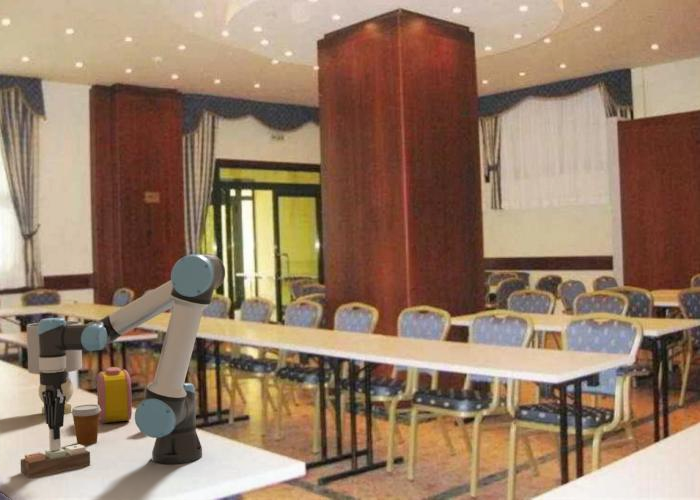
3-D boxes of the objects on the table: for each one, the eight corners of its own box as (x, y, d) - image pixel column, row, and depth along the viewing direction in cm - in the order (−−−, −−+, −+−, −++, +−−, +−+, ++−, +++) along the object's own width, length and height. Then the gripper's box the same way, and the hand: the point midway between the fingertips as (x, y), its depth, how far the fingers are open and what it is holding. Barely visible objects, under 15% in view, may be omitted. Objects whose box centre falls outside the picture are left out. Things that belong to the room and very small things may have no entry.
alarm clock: (132, 423, 290) (131, 371, 290) (101, 427, 286) (99, 373, 286) (127, 413, 308) (125, 364, 307) (97, 416, 304) (96, 366, 303)
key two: (66, 465, 234) (65, 450, 234) (51, 468, 231) (50, 453, 231) (60, 462, 238) (60, 447, 238) (45, 465, 235) (45, 450, 235)
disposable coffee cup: (92, 447, 259) (91, 410, 259) (66, 446, 261) (65, 409, 260) (107, 439, 268) (106, 404, 268) (81, 438, 270) (80, 403, 270)
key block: (90, 465, 238) (89, 451, 238) (29, 478, 226) (28, 464, 226) (81, 460, 243) (80, 447, 243) (20, 472, 231) (20, 459, 231)
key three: (45, 470, 230) (45, 454, 230) (30, 473, 227) (29, 457, 227) (40, 467, 234) (39, 451, 234) (25, 470, 231) (24, 454, 231)
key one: (85, 461, 238) (85, 446, 238) (71, 464, 235) (71, 449, 235) (80, 458, 242) (79, 443, 241) (65, 461, 239) (65, 446, 239)
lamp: (67, 419, 300) (64, 326, 300) (18, 418, 303) (16, 326, 303) (92, 407, 320) (90, 320, 319) (46, 407, 323) (44, 321, 323)
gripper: (74, 371, 232) (76, 451, 232) (57, 366, 241) (59, 443, 242) (48, 374, 227) (50, 456, 227) (32, 369, 236) (34, 447, 237)
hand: (55, 449), depth 234 cm, fingers closed
